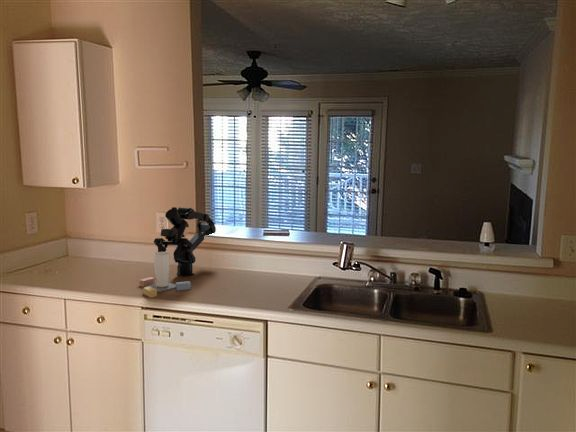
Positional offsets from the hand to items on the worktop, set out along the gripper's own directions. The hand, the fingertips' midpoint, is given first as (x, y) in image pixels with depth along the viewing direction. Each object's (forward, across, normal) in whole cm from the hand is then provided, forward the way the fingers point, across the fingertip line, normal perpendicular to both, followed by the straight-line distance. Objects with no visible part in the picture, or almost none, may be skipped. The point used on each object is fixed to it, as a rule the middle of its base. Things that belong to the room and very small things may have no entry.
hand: (166, 259), depth 220 cm
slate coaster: (+12, +1, +3) cm, 13 cm away
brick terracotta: (+12, -8, +3) cm, 15 cm away
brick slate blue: (+12, +10, +6) cm, 17 cm away
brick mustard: (+20, +3, -4) cm, 21 cm away
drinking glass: (+12, +1, +3) cm, 12 cm away
